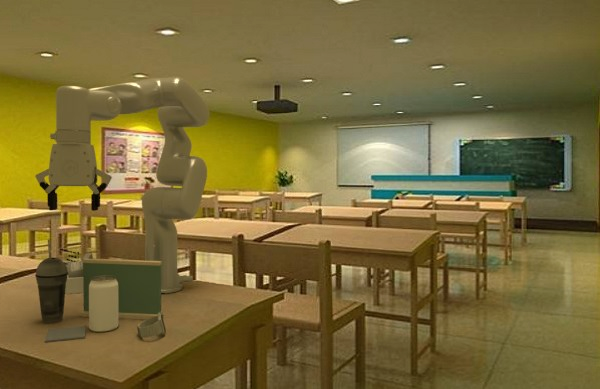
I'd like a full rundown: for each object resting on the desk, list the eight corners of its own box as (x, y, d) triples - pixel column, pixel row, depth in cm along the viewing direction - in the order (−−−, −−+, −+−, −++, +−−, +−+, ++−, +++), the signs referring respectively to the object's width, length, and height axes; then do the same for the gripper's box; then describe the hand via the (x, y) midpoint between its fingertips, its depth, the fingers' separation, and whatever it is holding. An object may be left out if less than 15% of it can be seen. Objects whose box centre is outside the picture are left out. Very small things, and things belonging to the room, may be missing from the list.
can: (90, 334, 114) (90, 282, 114) (87, 325, 120) (87, 276, 119) (120, 330, 117) (120, 279, 117) (116, 322, 123) (116, 274, 122)
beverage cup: (46, 327, 119) (45, 243, 117) (29, 321, 122) (28, 240, 121) (75, 319, 125) (74, 239, 124) (57, 314, 129) (56, 236, 127)
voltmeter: (112, 287, 158) (111, 255, 157) (77, 294, 149) (76, 261, 148) (68, 274, 174) (68, 246, 173) (35, 280, 165) (34, 250, 164)
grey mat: (85, 327, 119) (85, 325, 119) (85, 338, 112) (85, 336, 112) (48, 330, 116) (48, 329, 116) (44, 342, 109) (44, 340, 109)
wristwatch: (164, 340, 111) (164, 318, 111) (135, 342, 110) (134, 320, 110) (166, 327, 120) (166, 307, 120) (138, 329, 119) (138, 308, 118)
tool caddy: (101, 272, 178) (101, 259, 178) (102, 291, 152) (102, 276, 152) (51, 275, 172) (51, 262, 172) (43, 295, 146) (43, 280, 146)
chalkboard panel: (80, 316, 127) (80, 260, 126) (88, 311, 131) (88, 257, 130) (157, 320, 125) (157, 263, 124) (163, 315, 129) (163, 260, 128)
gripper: (29, 137, 116) (29, 211, 117) (106, 139, 117) (106, 211, 118) (42, 138, 123) (43, 208, 124) (115, 140, 125) (115, 209, 126)
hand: (74, 210), depth 121 cm, fingers open, 9 cm apart
